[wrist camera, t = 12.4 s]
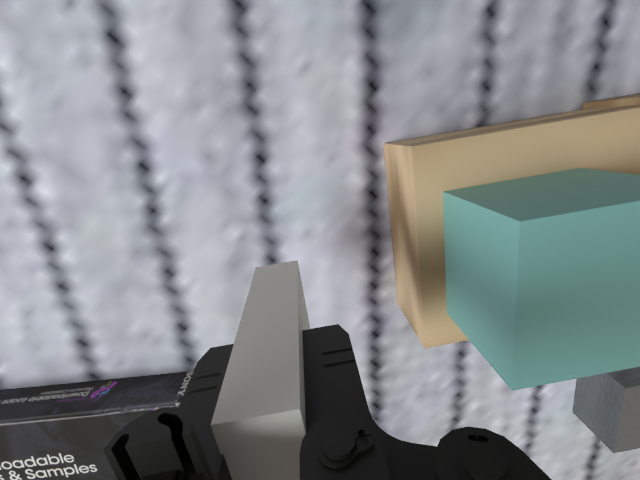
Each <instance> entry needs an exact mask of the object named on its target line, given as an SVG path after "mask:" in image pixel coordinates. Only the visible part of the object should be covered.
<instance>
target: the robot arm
mask: <svg viewBox="0 0 640 480" xmlns="http://www.w3.org/2000/svg"><path fill="white" fill-rule="evenodd" d="M185 392H186V393H185V395H183V398H182V400H181V402H180V405H179V407H162V408H159V409H156V410H153V411H150V412H147V413H145V414H143V415H142V416H140V417H138V418H136V419H135V420H133V421H131V422H130V423H129V424H127V425H126V426H125V427H124V428H123V429H121V430H120V431H119V432H118V433H117V434H116V435H115V436H114V437H113V438H112V439H111V441H110V442H109V443H108V445H107V446H106V447H105V448H104V450H103V452H104V454H105V456H106V458H107V460H108V462H109V464H110V466H111V468H112V469H113V471H114V473H115V475H116V477H117V479H118V480H551V479H550V478H549V477H548V476H547V475H546V474H545V473H544V472H543V471H542V470H541V469H540V468H539V467H538V466H537V465H536V464H535V463H534V462H533V461H532V460H531V459H530V458H529V457H528V456H527V455H526V454H525V453H524V452H523V451H522V450H521V449H519V448H518V447H517V446H515V445H514V444H513V443H512V442H510V441H509V440H508V439H506V438H505V437H504V436H501V435H499V434H496V433H494V432H492V431H489V430H487V429H482V428H474V427H464V428H460V429H455V430H452V431H450V432H449V433H448V434H446V435H445V436H444V437H443V438H441V439H440V442H439V444H438V446H437V447H436V446H429V445H422V444H415V443H409V442H405V441H401V440H398V439H396V438H394V437H392V436H390V435H388V434H387V433H386V432H384V431H383V430H382V429H380V428H379V427H378V425H377V424H376V423H375V421H374V420H373V419H372V416H371V414H370V412H369V409H368V405H367V401H366V398H365V394H364V390H363V386H362V383H361V379H360V375H359V371H358V368H357V364H356V361H355V356H354V353H353V349H352V345H351V341H350V338H349V334H348V333H347V332H346V331H345V330H344V329H343V328H342V327H340V326H339V325H338V324H337V325H331V326H325V327H320V328H314V329H310V325H309V319H308V314H307V309H306V304H305V298H304V293H303V288H302V283H301V278H300V272H299V267H298V262H297V261H291V262H285V263H280V264H274V265H268V266H262V267H256V269H255V273H254V276H253V280H252V283H251V287H250V290H249V294H248V297H247V301H246V304H245V307H244V311H243V314H242V318H241V321H240V325H239V328H238V332H237V335H236V339H235V342H234V344H231V345H225V346H219V347H214V348H210V349H209V350H208V351H207V353H206V354H205V355H204V356H203V357H202V358H201V359H200V360H199V361H198V362H197V365H196V367H195V370H194V372H193V374H192V377H191V381H189V384H188V386H187V388H186V391H185Z"/></svg>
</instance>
